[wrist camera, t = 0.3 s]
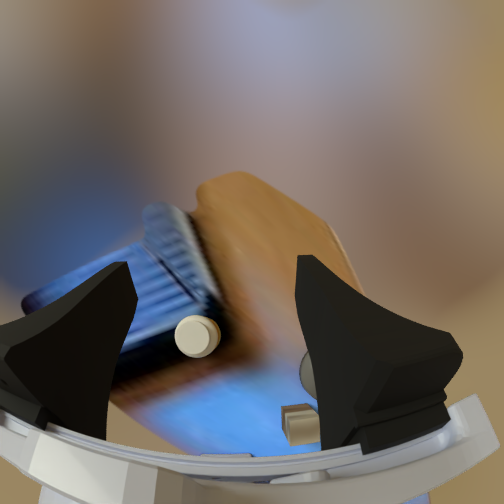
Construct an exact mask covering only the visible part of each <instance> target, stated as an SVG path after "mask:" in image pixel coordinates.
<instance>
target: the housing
mask: <svg viewBox="0 0 504 504" xmlns="http://www.w3.org/2000/svg"><path fill="white" fill-rule="evenodd" d="M281 415H282V430H283V432H284V434H285V436H286V438H287V440H288V442H289V444H290V446H296V445H303V444H309V443H315V442H320V423H319V415H318V414H317V413H316V412H315V411H314V410H313V409H312V408H311V407H310V406H309V405H308V404H307V403H305V404H298V405H290V406H281Z"/></svg>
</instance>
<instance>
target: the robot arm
mask: <svg viewBox="0 0 504 504" xmlns="http://www.w3.org/2000/svg"><path fill="white" fill-rule="evenodd" d="M295 301H296V307H297V314H298V318H299V322H300V325H301V329H302V332H303V335H304V339H305V342H306V346H307V349H308V353H309V356H310V360H311V364H312V369H313V375H314V381H315V388H316V396H317V404H318V412H319V423H320V435H321V451H318V452H311V453H303V454H294V455H284V456H271V457H251V454H250V453H243V454H201V455H200V456H190V455H180V454H171V453H164V452H157V451H151V450H145V449H139V448H134V447H129V446H125V445H120V444H116V443H112V442H108V441H106V425H107V424H106V423H107V411H108V401H109V395H110V389H111V383H112V378H113V374H114V369H115V365H116V362H117V359H118V356H119V353H120V351H121V348H122V346H123V343H124V341H125V338H126V336H127V333H128V331H129V328H130V326H131V323H132V321H133V318H134V314H135V311H136V307H137V302H138V297H137V294H136V290H135V287H134V284H133V281H132V278H131V274H130V271H129V267H128V264H127V261H124V262H114V263H112V264H110V265H108V266H106V267H105V268H103V269H102V270H100V271H99V272H97V273H96V274H94V275H93V276H92V277H90V278H89V279H87V280H86V281H84V282H83V283H82V284H80V285H79V286H77V287H76V288H74V289H73V290H71V291H70V292H68V293H67V294H65V295H64V296H62V297H61V298H59V299H57V300H56V301H54V302H52V303H51V304H49V305H47V306H45V307H43V308H42V309H39V310H37V311H35V312H33V313H31V314H29V315H27V316H25V317H22V318H20V319H18V320H15V321H12V322H9V323H7V324H4V325H0V456H1V457H3V458H4V459H6V460H7V461H8V462H10V463H11V464H13V465H14V466H16V467H17V468H18V469H19V470H20V472H21V473H23V474H24V475H26V476H28V477H29V478H31V479H32V480H34V481H36V482H38V483H40V484H41V485H42V489H41V494H40V499H39V504H402V503H404V502H407V501H409V500H411V499H414V498H416V497H418V496H420V495H422V494H425V493H427V492H429V491H431V490H433V489H435V488H437V487H439V486H440V485H442V484H444V483H446V482H448V481H450V480H451V479H453V478H455V477H457V476H458V475H460V474H462V473H463V472H465V471H467V470H468V469H470V468H471V467H473V466H475V465H476V464H478V463H479V462H480V461H482V460H483V459H485V458H486V457H488V456H489V455H491V454H492V453H493V452H495V451H496V450H497V449H499V447H500V444H499V441H498V439H497V436H496V434H495V431H494V429H493V427H492V425H491V422H490V420H489V418H488V416H487V414H486V412H485V410H484V407H483V406H482V403H481V401H480V399H479V397H478V396H477V394H472V395H470V396H468V397H466V398H464V399H462V400H460V401H458V402H456V403H454V404H452V405H451V406H449V407H448V408H447V409H446V407H445V404H444V401H445V400H446V399H447V395H446V393H445V391H444V388H445V387H446V386H447V384H448V383H449V382H450V380H451V379H452V378H453V376H454V375H455V374H456V372H457V371H458V369H459V367H460V365H461V362H462V359H463V352H462V351H461V349H460V348H459V346H458V344H457V343H456V341H455V340H454V338H453V337H452V335H451V334H450V333H449V332H445V331H442V330H438V329H434V328H431V327H427V326H424V325H422V324H419V323H416V322H413V321H411V320H409V319H406V318H404V317H402V316H399V315H397V314H395V313H393V312H391V311H389V310H387V309H385V308H383V307H381V306H380V305H378V304H376V303H374V302H373V301H371V300H369V299H368V298H366V297H365V296H363V295H362V294H360V293H359V292H357V291H356V290H355V289H353V288H352V287H350V286H349V285H348V284H346V283H345V282H344V281H343V280H341V279H340V278H339V277H338V276H337V275H335V274H334V273H333V272H332V271H331V270H329V269H328V268H327V267H326V266H325V265H324V264H323V263H321V262H320V261H319V260H318V259H317V258H316V257H315V256H313V255H298V257H297V272H296V286H295ZM256 481H270V484H255V483H253V482H256Z"/></svg>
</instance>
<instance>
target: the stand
mask: <svg viewBox="0 0 504 504" xmlns="http://www.w3.org/2000/svg"><path fill="white" fill-rule="evenodd" d="M299 375H300V381H301V384H302V386H303V388H304V389H305V390H306V392H307V393H309V394H310V395H311V396H312V397H313V398H315V399H316V400H317V396H316V388H315V381H314V375H313V369H312V364H311V360H310V356H309V353H308V351H307V353H306V354H305V355H304V357H303V359H302V361H301V365H300V370H299Z"/></svg>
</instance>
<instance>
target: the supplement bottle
mask: <svg viewBox="0 0 504 504" xmlns="http://www.w3.org/2000/svg"><path fill="white" fill-rule="evenodd" d="M220 338H221V333H220V329H219V327H218V325H217V324H216V323H215V322H214V321H213V320H212V319H210V318H207V317H203V316H199V315H193V316H188V317H186V318H184V319H183V320H182V321H181V322H180V323H179V324H178V326H177V328H176V331H175V340H176V344H177V346H178V347H179V349H180V350H181V351H182V352H183V353H184V354H186V355H188V356H190V357H196V358H199V357H204V356H206V355H208V354H210V353H211V352H212V351H213V350H214V349H215V348H216V347H217V345H218V344H219V342H220Z"/></svg>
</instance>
